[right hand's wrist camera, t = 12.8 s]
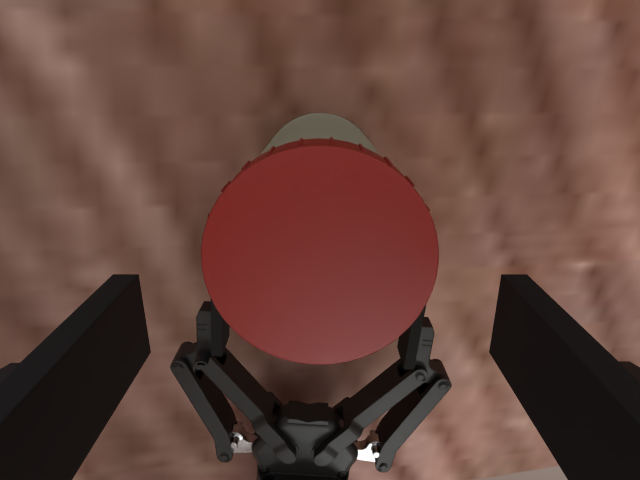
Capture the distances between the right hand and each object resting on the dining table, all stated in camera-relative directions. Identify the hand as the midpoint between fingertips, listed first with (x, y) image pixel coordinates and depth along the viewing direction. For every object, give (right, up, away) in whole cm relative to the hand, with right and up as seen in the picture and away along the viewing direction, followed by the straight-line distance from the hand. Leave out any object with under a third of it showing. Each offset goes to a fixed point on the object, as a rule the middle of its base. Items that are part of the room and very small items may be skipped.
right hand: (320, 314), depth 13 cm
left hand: (0, 0, +16) cm, 17 cm away
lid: (0, +1, +4) cm, 4 cm away
